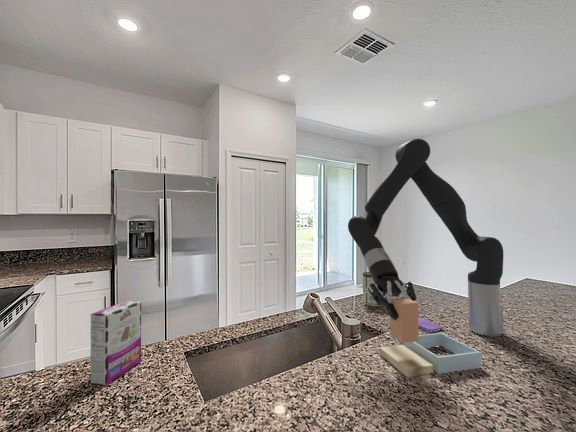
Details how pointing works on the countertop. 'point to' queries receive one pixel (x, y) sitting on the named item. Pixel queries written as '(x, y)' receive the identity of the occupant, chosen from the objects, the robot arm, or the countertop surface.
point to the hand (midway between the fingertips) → (405, 317)
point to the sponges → (427, 325)
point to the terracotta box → (405, 320)
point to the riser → (406, 360)
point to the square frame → (450, 363)
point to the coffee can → (366, 294)
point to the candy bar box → (115, 341)
